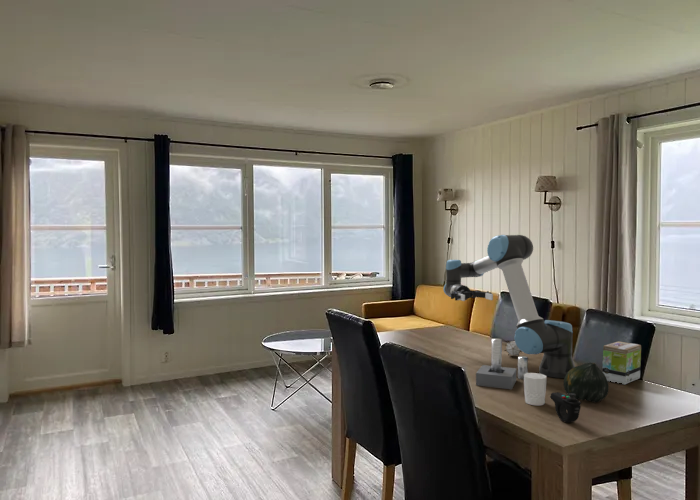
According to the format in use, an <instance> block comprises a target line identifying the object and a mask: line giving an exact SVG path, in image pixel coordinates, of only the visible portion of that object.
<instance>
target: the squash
mask: <svg viewBox="0 0 700 500" xmlns="http://www.w3.org/2000/svg"><path fill="white" fill-rule="evenodd" d="M609 385H610V384H609V381H607V379H606V376H605V375H604V373H603V372H602V370H601V368H600V367H599V366H598V364H597V363H595V362H587V363H582V364H579V365H577V366H575V367H574V368H572V369H571V370H570V371H569V372H568V373H567V375H566V376H565V378H563V387H564V388H563V389H564V392H565V393H566V395H567V396H569V397H570V395H569V393H574V394H576V396H574V397H575V398H576V399H577V400H579V401H580V400H581V401H584V400H585V401H587V402H592V403H599V402H600V401H603V400H604V399H605V398H606V397H607V395H608V393H609V387H610V386H609Z"/></svg>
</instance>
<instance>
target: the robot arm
mask: <svg viewBox="0 0 700 500" xmlns="http://www.w3.org/2000/svg"><path fill="white" fill-rule="evenodd" d="M533 252H534V245H533V241H532V240H531V239H530V238H529V237H528V236H526V235H523V234H500V235H499V234H498V235H495V236H492V238H491V239H490V240H489V242H488V245H487V255H486V256H485V255H484V257H481V258H478V259H477V260H474V261H473V262H463V263H462V261H461V260H460V259H448V260H447V261H446V266H445V273H446V274H445V275H446V276H445V277H446V279H445V284H444V285H443V292H444V294H445V295H446V296H447V297H450V299H451V300H454V301H456V302H457V301H462V302H465V301H467V300H468V299H470V298H471V299H475V298H481V299H482V298H483V299H486V300H489V301H493V300H494V294H493V293H492V291H491V292H489V291H488V290H487V291H481V290H471V289H470V288H469V287H468V286H466V285H463V284H462V278H478V277H483V276H484V274H485V273H488V272H490V271H492V270H495V269H500V270H501V271H502V275H503V276H504V280H505V283H506V287H507V290H508V293H509V295H510V299H511V303H512V305H513V308H514V312H515V314H516V318H517V321H518V322H517V324H516V325H515V326H516V327H515V328H516V330H515V331H514V338H513V340H515V343H516V345H517V347H518V348H519V349H520V350H521V351H522V352H521V353H524V354H526V355H538V354H543V356H542V359H541V361H540V364H539V368H538V369H539V371H538V372H539V374H543V375H545V376H547V377H549V378H556V379H564V378H565V376H566V375H567V373H568V372H569V371H570V370H571V369H572V368H574V367H576V366H575V361H574V359H573V333H574V332H573V325H572V324H571V323H569V322H566V321H559V320H552V319H551V320H550V319H545V320H544V318H543V317H541V316H539V313H538V311H537V308H536V305H535V304H536V303H535V302H534V298H533V295H532V293H531V289H530V287H529V284H528V280H527V277H526V275H525V271H524V269H523V266H522V263H523V262H524V260H526V259H529V258H530V257H531V256H532V254H533Z"/></svg>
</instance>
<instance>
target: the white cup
mask: <svg viewBox="0 0 700 500" xmlns="http://www.w3.org/2000/svg"><path fill="white" fill-rule="evenodd" d="M547 377H548V376H545V375H543V374H541V373H538V372H537V373H536V372H528V373H526V374H524V380H523V391H524V392H523V393H524V402H525V404H528V405H530V406H531V405H532V406H539V407H540V406H544V405H545V403H546V402H545V401H546V391H547Z"/></svg>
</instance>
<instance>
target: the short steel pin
mask: <svg viewBox="0 0 700 500" xmlns="http://www.w3.org/2000/svg"><path fill="white" fill-rule="evenodd" d="M517 356H518V355H517ZM528 366H529V359H528V356H525V355H519V356H518V357H517V379H519V380H522V381H524V374H526V373H529V371H528V370H529V368H528Z"/></svg>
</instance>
